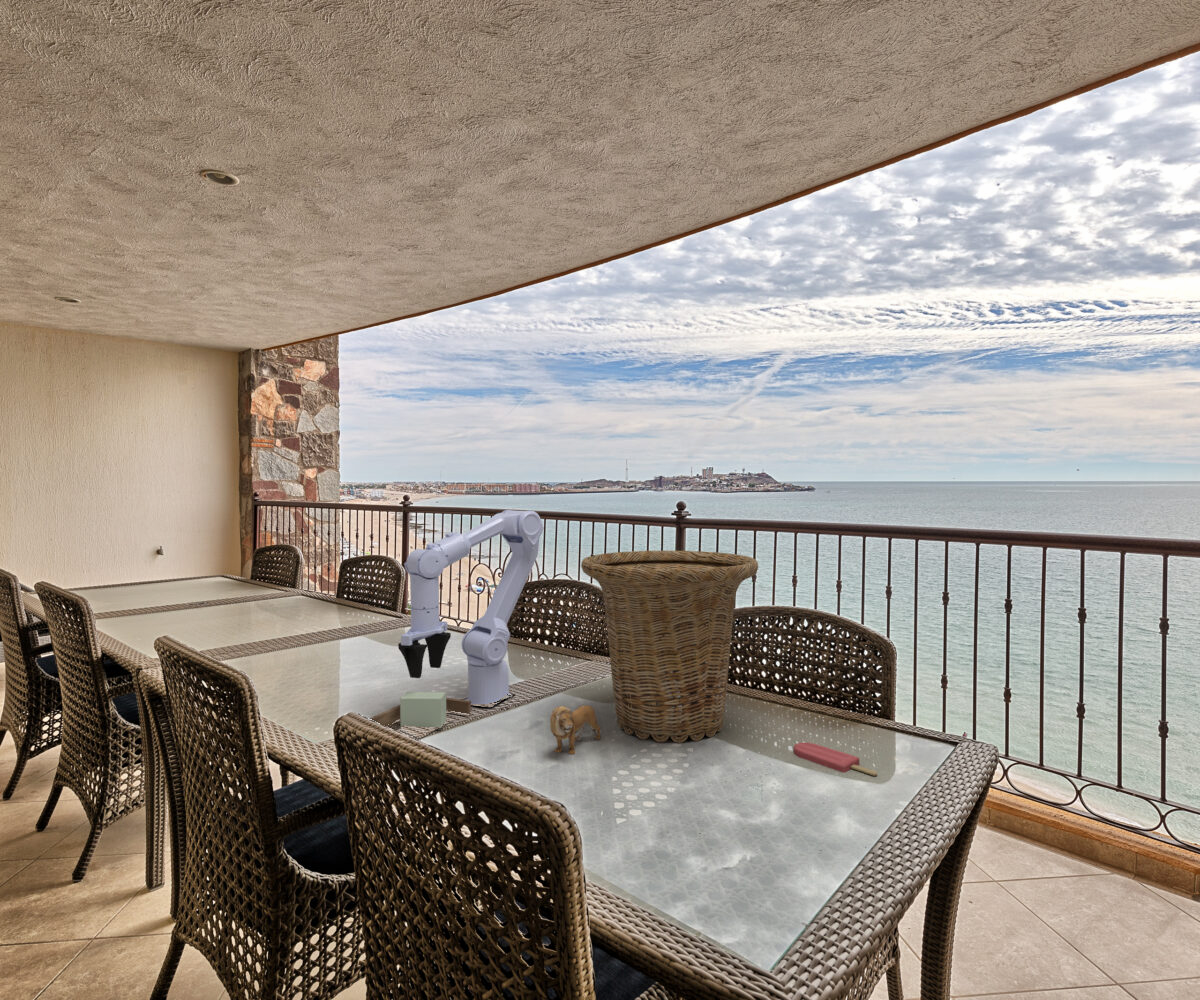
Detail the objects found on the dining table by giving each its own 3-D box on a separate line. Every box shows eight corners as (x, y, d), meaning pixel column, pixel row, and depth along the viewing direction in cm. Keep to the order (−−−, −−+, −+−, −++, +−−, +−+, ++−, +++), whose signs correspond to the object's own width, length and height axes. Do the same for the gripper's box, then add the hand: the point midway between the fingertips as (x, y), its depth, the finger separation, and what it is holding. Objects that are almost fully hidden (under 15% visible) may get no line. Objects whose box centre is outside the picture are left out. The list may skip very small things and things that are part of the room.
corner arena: (422, 708, 144) (421, 694, 144) (471, 715, 139) (471, 701, 139) (370, 733, 129) (370, 718, 129) (423, 742, 124) (423, 726, 124)
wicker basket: (761, 702, 145) (761, 551, 145) (754, 768, 112) (754, 571, 111) (607, 690, 155) (606, 549, 154) (558, 747, 121) (557, 566, 121)
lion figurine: (569, 764, 114) (568, 712, 114) (542, 758, 116) (542, 707, 116) (606, 735, 127) (606, 688, 127) (582, 731, 130) (581, 685, 129)
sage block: (407, 721, 134) (406, 692, 134) (446, 721, 134) (446, 692, 134) (400, 728, 130) (400, 698, 130) (441, 729, 130) (440, 698, 130)
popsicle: (868, 774, 107) (787, 747, 118) (868, 783, 107) (787, 755, 118) (884, 764, 110) (804, 739, 121) (884, 774, 110) (804, 747, 121)
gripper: (422, 614, 129) (423, 683, 129) (459, 602, 143) (460, 664, 143) (391, 612, 131) (392, 680, 131) (430, 600, 145) (431, 662, 145)
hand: (425, 672), depth 138 cm, fingers open, 7 cm apart
